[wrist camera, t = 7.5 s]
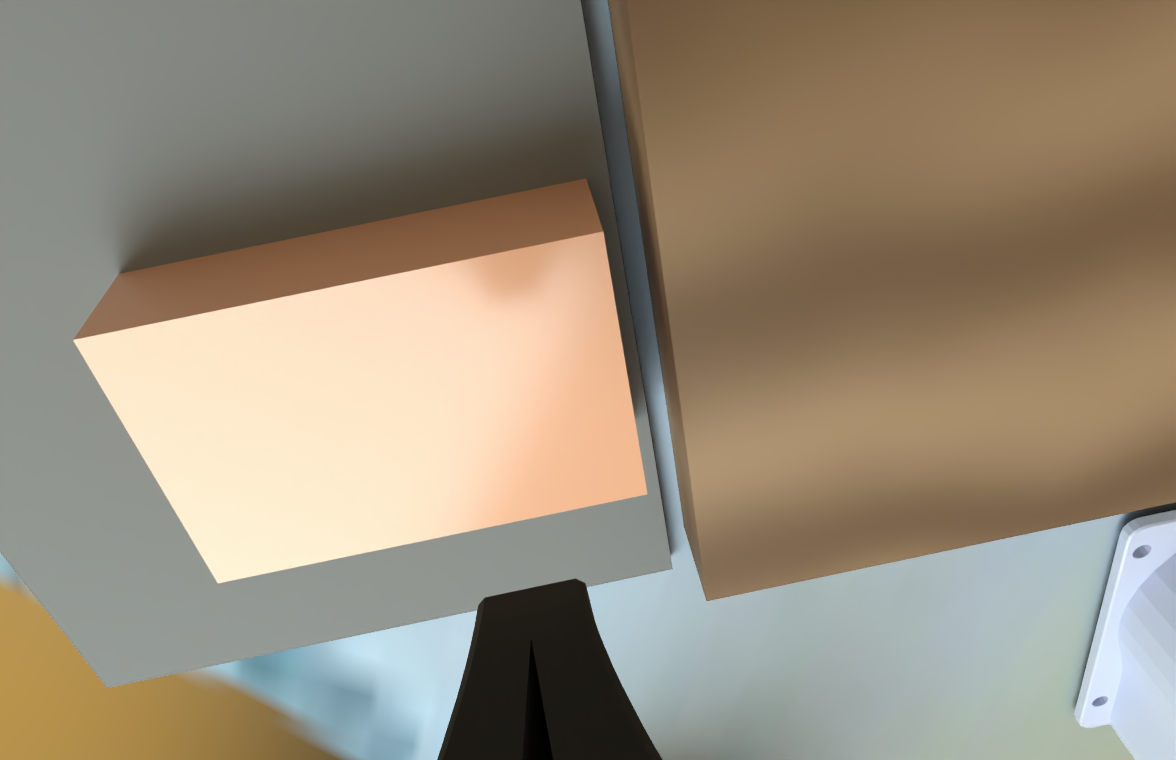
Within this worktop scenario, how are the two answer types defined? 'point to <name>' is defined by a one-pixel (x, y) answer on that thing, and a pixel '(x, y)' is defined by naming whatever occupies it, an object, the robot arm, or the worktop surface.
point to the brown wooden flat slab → (904, 269)
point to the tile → (376, 381)
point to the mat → (250, 218)
